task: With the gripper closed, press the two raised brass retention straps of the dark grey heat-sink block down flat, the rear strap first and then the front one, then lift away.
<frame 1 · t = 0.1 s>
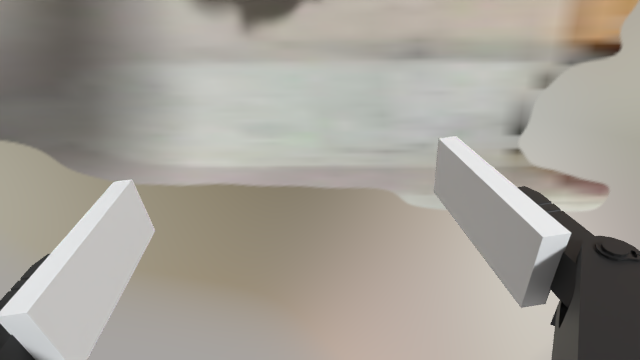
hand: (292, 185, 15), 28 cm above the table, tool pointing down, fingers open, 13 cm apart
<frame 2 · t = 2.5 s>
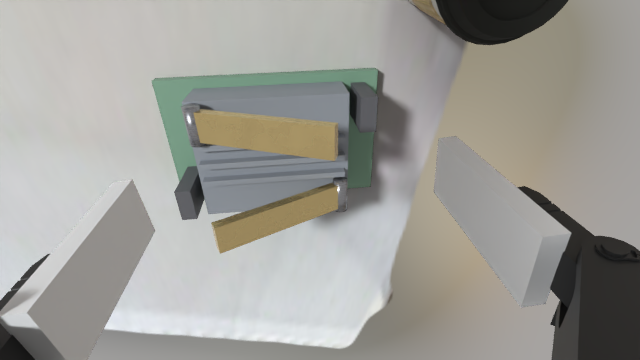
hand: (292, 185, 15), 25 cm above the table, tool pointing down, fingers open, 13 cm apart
heatsink module: (274, 136, 40), on the table
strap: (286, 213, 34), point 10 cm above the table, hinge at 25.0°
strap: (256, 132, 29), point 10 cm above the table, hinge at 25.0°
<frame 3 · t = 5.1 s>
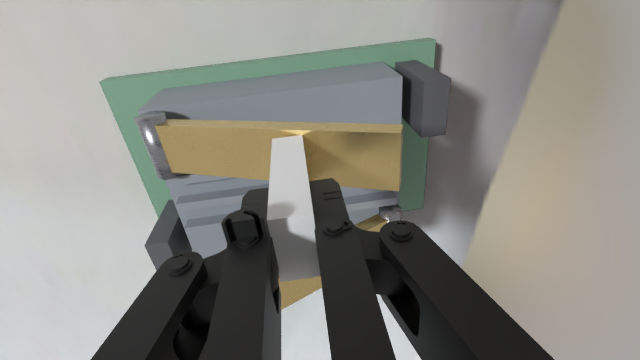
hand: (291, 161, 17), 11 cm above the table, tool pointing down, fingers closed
heatsink module: (286, 148, 28), on the table
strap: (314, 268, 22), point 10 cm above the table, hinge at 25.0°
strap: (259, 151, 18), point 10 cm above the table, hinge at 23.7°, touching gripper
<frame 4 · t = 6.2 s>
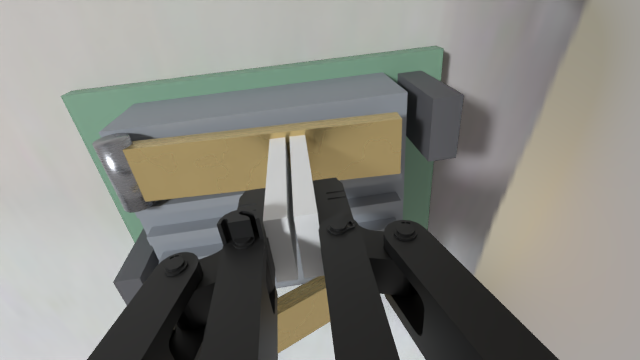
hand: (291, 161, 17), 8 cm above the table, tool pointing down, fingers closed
heatsink module: (276, 167, 26), on the table
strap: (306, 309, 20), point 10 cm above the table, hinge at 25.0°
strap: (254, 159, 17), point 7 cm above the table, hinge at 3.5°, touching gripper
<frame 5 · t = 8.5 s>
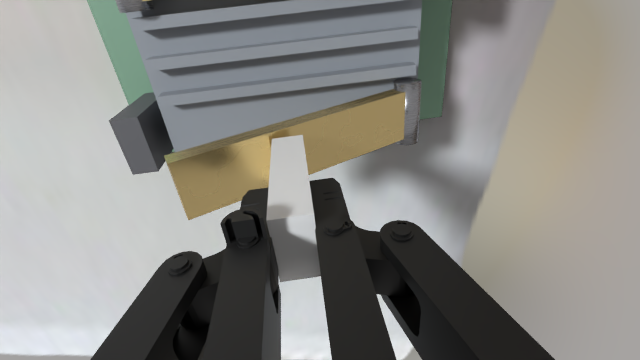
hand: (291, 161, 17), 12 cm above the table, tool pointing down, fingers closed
heatsink module: (283, 34, 24), on the table
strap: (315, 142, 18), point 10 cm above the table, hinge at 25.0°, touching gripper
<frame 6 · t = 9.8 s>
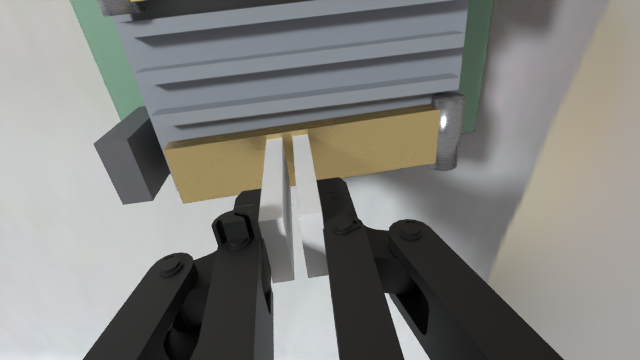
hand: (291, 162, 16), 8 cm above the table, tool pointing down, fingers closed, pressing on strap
heatsink module: (297, 39, 21), on the table
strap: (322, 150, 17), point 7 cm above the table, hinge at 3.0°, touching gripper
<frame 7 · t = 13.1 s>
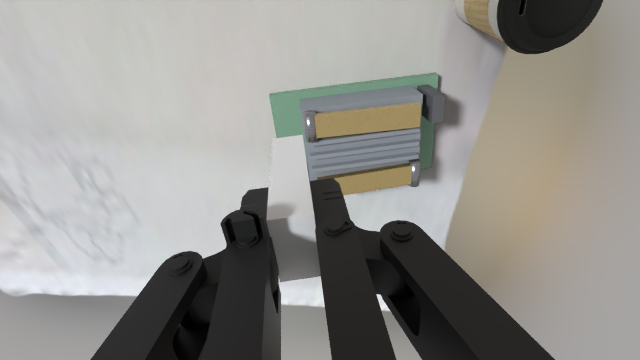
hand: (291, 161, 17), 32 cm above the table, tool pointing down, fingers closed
heatsink module: (355, 131, 51), on the table
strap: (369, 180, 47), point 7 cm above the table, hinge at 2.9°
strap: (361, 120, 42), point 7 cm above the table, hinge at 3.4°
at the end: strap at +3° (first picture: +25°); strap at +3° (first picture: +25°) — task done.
